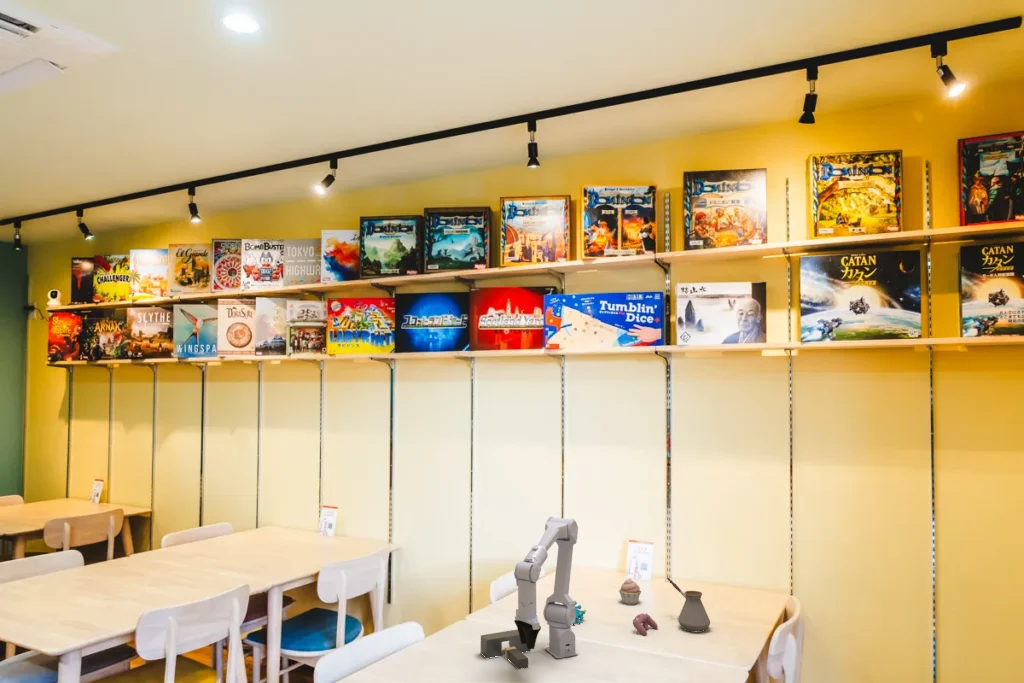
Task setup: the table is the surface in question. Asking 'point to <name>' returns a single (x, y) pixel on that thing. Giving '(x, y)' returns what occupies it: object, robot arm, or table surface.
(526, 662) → the grey rectangular bar
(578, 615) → the spiky virus model
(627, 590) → the cupcake
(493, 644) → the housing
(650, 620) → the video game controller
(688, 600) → the coffee pot
